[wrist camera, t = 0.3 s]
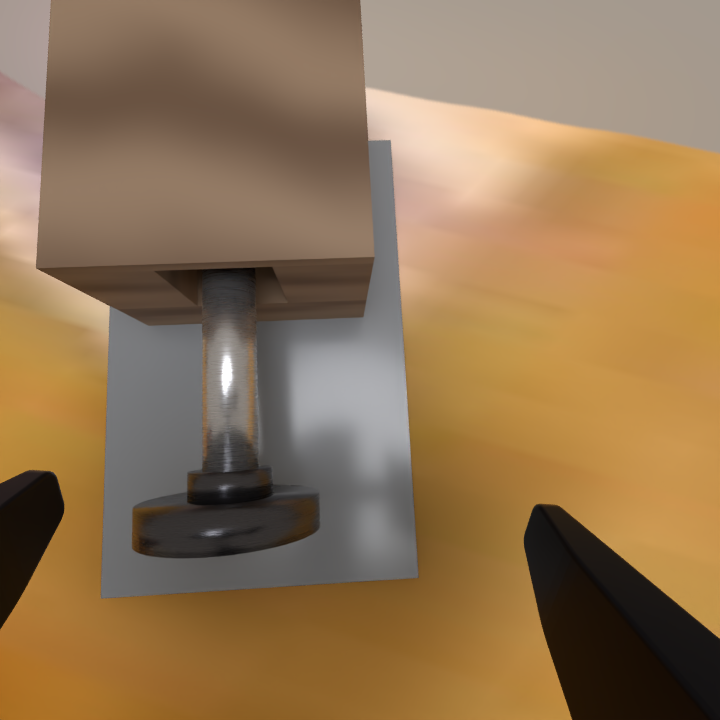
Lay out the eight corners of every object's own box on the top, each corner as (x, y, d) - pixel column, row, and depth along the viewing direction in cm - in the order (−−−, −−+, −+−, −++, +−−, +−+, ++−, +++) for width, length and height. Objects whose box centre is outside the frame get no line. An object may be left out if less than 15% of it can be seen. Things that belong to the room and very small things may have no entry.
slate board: (415, 570, 23) (418, 577, 22) (111, 590, 22) (100, 598, 21) (388, 151, 26) (390, 140, 25) (123, 157, 25) (114, 146, 24)
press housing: (363, 317, 23) (374, 256, 15) (148, 325, 23) (36, 267, 14) (354, 141, 25) (359, -5, 16) (152, 145, 24) (51, -2, 16)
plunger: (324, 509, 19) (315, 550, 13) (174, 518, 19) (90, 564, 13) (315, 274, 21) (303, 209, 15) (176, 279, 21) (102, 215, 14)
